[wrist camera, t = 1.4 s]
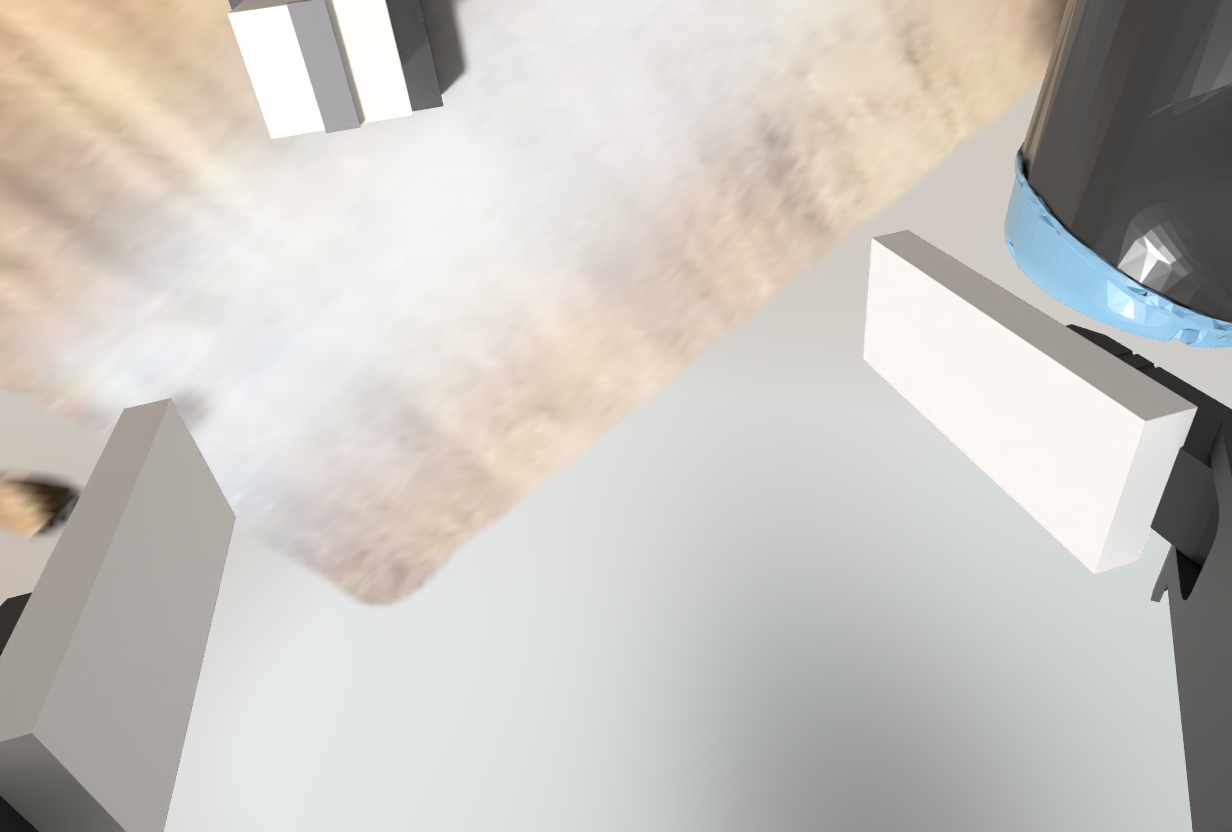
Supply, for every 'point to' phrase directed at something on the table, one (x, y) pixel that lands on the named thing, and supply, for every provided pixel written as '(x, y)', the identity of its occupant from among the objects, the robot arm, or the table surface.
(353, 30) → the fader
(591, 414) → the table surface
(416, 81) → the grey slotted track base
